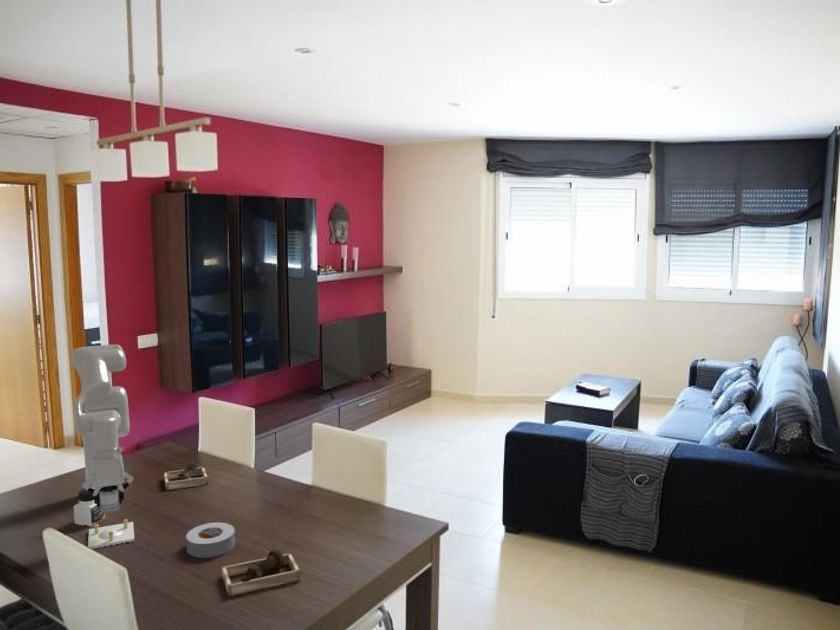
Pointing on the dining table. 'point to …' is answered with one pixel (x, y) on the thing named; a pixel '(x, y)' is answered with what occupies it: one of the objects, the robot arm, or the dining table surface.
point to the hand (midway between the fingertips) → (109, 503)
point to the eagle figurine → (186, 472)
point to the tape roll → (210, 540)
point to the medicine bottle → (87, 510)
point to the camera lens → (109, 499)
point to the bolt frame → (258, 582)
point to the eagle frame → (186, 482)
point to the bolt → (264, 566)
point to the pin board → (111, 535)
